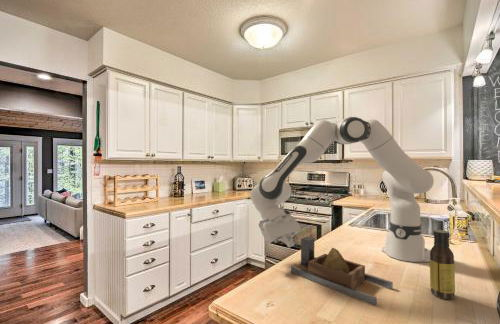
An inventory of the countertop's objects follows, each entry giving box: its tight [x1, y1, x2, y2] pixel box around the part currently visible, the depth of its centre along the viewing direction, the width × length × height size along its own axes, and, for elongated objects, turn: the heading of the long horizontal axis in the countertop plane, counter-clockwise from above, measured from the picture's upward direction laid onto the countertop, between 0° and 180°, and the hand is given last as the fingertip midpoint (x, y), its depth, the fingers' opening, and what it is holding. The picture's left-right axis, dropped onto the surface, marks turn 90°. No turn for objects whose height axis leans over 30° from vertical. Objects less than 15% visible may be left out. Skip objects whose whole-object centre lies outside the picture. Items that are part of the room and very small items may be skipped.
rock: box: [322, 247, 350, 273], centre depth 91 cm, size 11×9×10 cm
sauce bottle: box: [429, 229, 456, 300], centre depth 80 cm, size 6×6×20 cm
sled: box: [298, 236, 366, 289], centre depth 93 cm, size 11×21×11 cm, turn 44°
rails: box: [290, 256, 394, 306], centre depth 90 cm, size 15×30×2 cm, turn 44°
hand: (291, 246), depth 105 cm, fingers closed
